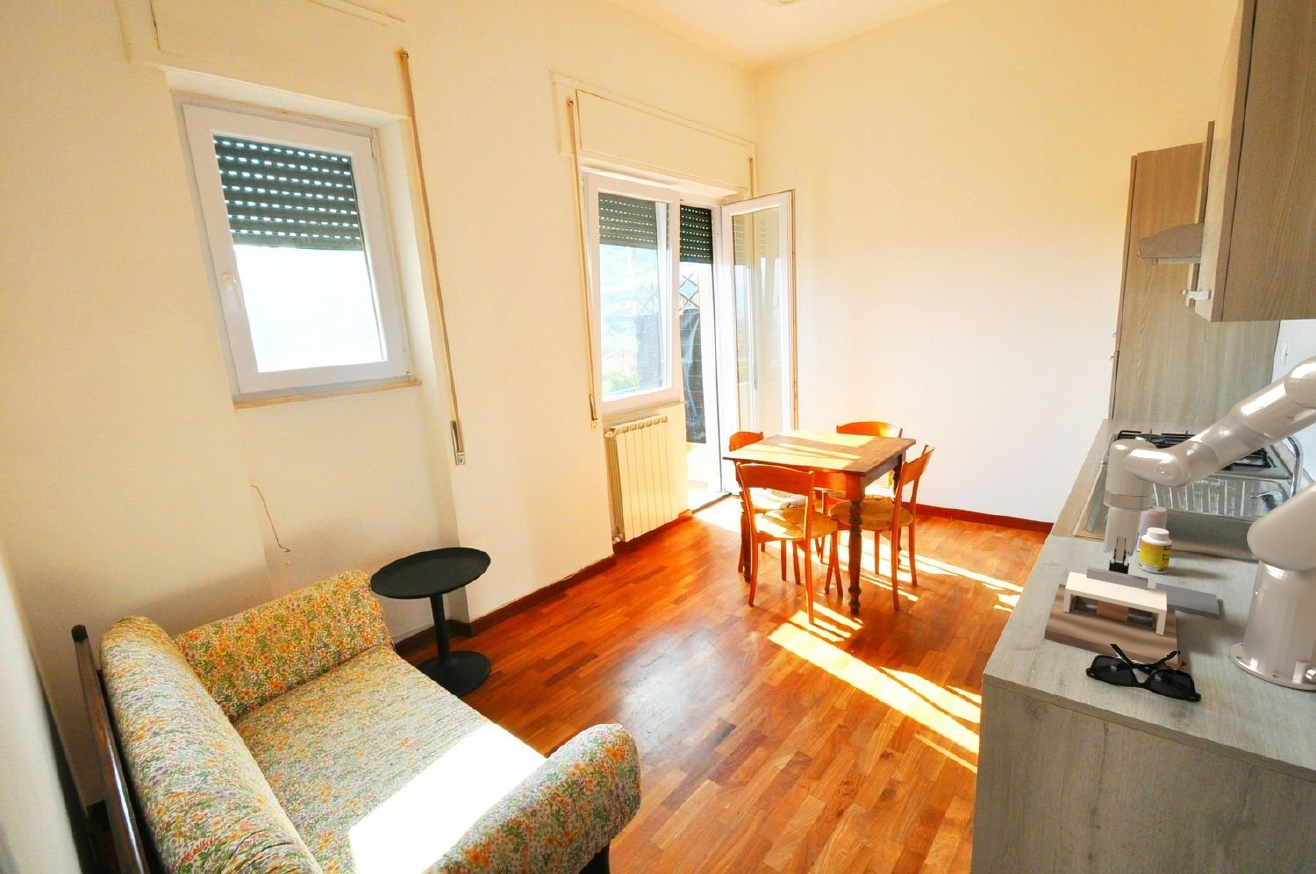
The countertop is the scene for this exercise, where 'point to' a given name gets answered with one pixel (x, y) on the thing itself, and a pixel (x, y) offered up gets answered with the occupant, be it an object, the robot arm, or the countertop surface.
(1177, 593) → the slate mat
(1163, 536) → the supplement bottle
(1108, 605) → the block
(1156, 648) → the puzzle board
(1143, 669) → the countertop surface
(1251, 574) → the countertop surface
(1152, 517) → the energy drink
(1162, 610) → the cream bridge stand
